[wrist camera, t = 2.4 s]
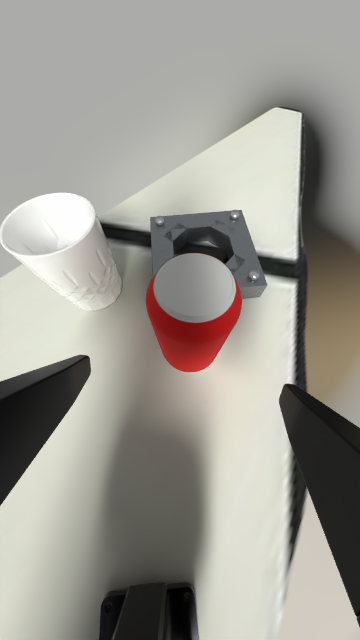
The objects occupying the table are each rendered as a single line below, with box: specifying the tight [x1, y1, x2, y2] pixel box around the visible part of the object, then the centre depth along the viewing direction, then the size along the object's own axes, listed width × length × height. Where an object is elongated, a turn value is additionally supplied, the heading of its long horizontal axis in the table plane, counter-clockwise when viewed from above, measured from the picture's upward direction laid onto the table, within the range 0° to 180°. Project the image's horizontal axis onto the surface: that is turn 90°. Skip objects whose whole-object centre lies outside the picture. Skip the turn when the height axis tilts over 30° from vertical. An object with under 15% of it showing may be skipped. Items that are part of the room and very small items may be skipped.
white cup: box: [0, 193, 122, 311], centre depth 21 cm, size 8×8×10 cm
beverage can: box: [146, 253, 242, 372], centre depth 16 cm, size 6×6×12 cm
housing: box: [150, 210, 267, 298], centre depth 25 cm, size 13×13×3 cm
